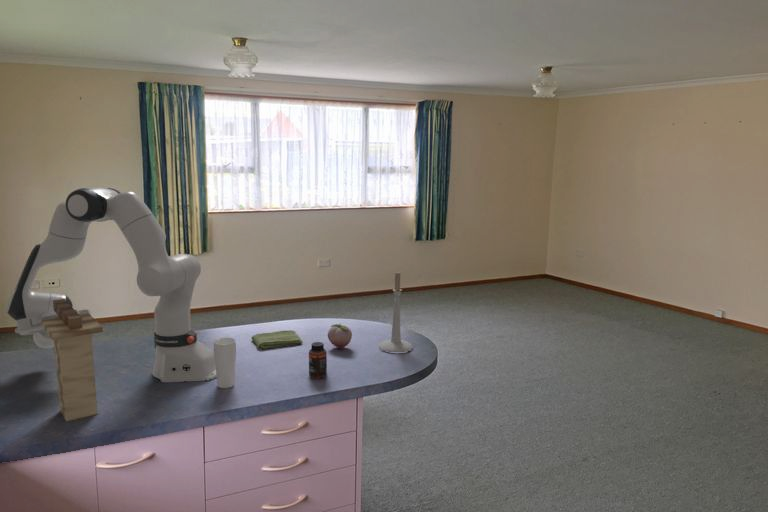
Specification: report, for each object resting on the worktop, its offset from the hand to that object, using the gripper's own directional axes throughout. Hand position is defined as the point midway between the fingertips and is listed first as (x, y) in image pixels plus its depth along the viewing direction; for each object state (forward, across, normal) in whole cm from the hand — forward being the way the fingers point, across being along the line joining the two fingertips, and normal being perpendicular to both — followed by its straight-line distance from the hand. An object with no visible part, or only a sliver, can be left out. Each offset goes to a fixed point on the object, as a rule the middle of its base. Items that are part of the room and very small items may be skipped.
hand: (57, 314), depth 177 cm
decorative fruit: (+5, +90, +31) cm, 95 cm away
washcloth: (-12, +74, +22) cm, 78 cm away
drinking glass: (+11, +41, +34) cm, 55 cm away
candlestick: (+15, +107, +37) cm, 115 cm away
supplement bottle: (+20, +69, +40) cm, 82 cm away
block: (+14, 0, +5) cm, 15 cm away
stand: (+5, 0, +31) cm, 31 cm away
